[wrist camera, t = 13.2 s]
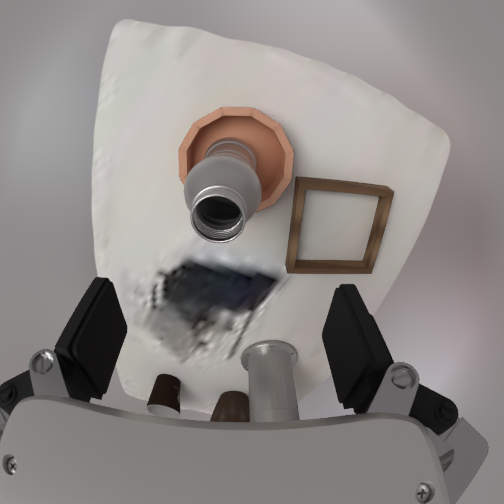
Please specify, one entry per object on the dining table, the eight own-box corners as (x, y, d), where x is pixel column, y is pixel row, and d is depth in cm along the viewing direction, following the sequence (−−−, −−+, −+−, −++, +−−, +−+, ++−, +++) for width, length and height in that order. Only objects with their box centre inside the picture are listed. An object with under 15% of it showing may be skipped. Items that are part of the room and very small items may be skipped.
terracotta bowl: (282, 205, 40) (287, 217, 36) (187, 202, 39) (181, 215, 35) (291, 110, 32) (297, 111, 29) (185, 107, 32) (178, 108, 28)
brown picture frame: (366, 265, 46) (371, 273, 44) (285, 264, 45) (287, 273, 43) (386, 186, 38) (394, 191, 36) (295, 176, 37) (299, 181, 35)
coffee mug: (156, 367, 61) (149, 401, 52) (188, 378, 63) (184, 411, 55) (148, 386, 66) (141, 415, 57) (176, 395, 68) (172, 424, 60)
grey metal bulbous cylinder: (244, 188, 37) (245, 273, 20) (199, 169, 35) (157, 241, 18) (264, 147, 34) (286, 197, 17) (217, 126, 33) (187, 155, 15)
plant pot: (256, 408, 73) (259, 454, 60) (207, 405, 72) (204, 452, 58) (264, 385, 65) (267, 439, 52) (206, 382, 64) (202, 436, 50)
